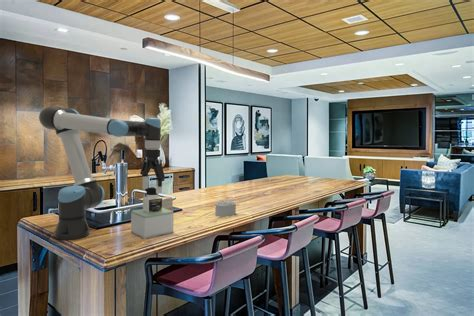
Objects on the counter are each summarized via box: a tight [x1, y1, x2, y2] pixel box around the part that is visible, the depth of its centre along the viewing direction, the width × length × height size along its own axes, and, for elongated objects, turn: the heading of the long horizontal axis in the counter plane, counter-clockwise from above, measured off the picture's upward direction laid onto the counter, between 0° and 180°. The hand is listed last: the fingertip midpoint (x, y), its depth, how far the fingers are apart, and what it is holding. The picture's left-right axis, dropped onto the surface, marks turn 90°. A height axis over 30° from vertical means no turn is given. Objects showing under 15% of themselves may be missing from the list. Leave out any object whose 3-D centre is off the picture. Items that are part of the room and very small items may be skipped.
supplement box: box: [161, 196, 174, 212], centre depth 197 cm, size 8×5×13 cm, turn 141°
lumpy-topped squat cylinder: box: [214, 199, 237, 218], centre depth 213 cm, size 10×13×9 cm
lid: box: [130, 208, 175, 218], centre depth 171 cm, size 16×14×1 cm
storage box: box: [130, 213, 174, 240], centre depth 172 cm, size 16×14×10 cm
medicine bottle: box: [142, 186, 162, 213], centre depth 171 cm, size 7×7×12 cm
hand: (151, 191), depth 171 cm, fingers open, 13 cm apart
